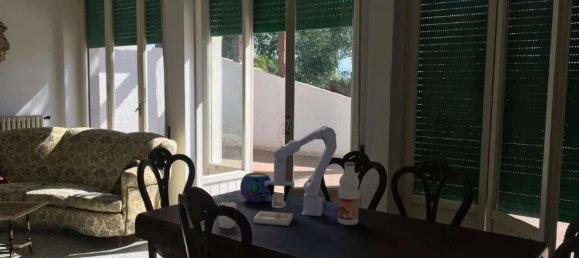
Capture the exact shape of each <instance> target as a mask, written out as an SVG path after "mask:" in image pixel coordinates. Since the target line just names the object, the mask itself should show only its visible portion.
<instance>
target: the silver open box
mask: <svg viewBox="0 0 579 258" xmlns="http://www.w3.org/2000/svg"><path fill="white" fill-rule="evenodd" d="M284 196H285V192H284V193H282V192H274V194H273V195H272V198H271V207H272V208H283V209H285V207H286V206H287V205H286V203H287V200H286V201H284Z"/></svg>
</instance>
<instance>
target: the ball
mask: <svg viewBox="0 0 579 258" xmlns="http://www.w3.org/2000/svg"><path fill="white" fill-rule="evenodd" d="M279 213H280V212H277V214H275V219H281V215H280V214H279Z"/></svg>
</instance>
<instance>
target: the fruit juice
mask: <svg viewBox="0 0 579 258" xmlns="http://www.w3.org/2000/svg"><path fill="white" fill-rule="evenodd" d="M343 165H344V170H343V173H342V175H341V176H340V178H339V181H338V184H339V190H338V204H337V205H338V206H337V222H338V223H339V224H341V225H347V226H353V225H354V226H355V225H357V224H359V223H358V222H359V211H360V209H359V207H360V206H359V205H360V192H359V186H360V185H359V184H360V179H359V178H358V176H357V174H356V170H355V167H356V163H355V162H351V161H345V162H344V164H343Z"/></svg>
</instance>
